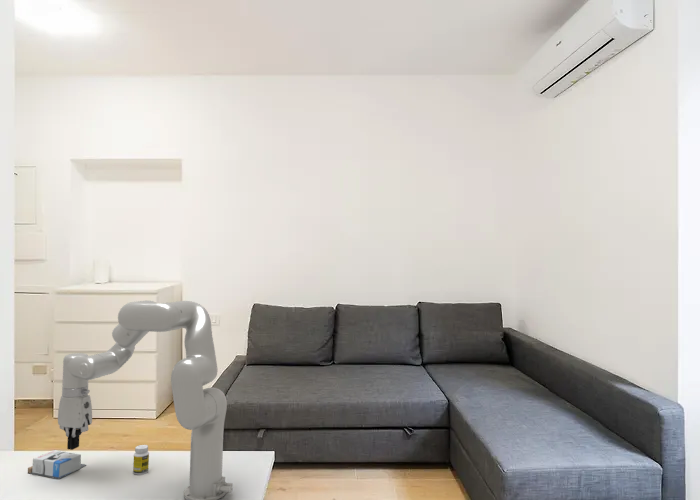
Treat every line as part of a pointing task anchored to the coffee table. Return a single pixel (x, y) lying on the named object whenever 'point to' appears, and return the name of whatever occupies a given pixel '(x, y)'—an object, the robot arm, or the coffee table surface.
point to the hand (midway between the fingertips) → (73, 448)
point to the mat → (47, 475)
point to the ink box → (56, 463)
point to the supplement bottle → (141, 460)
